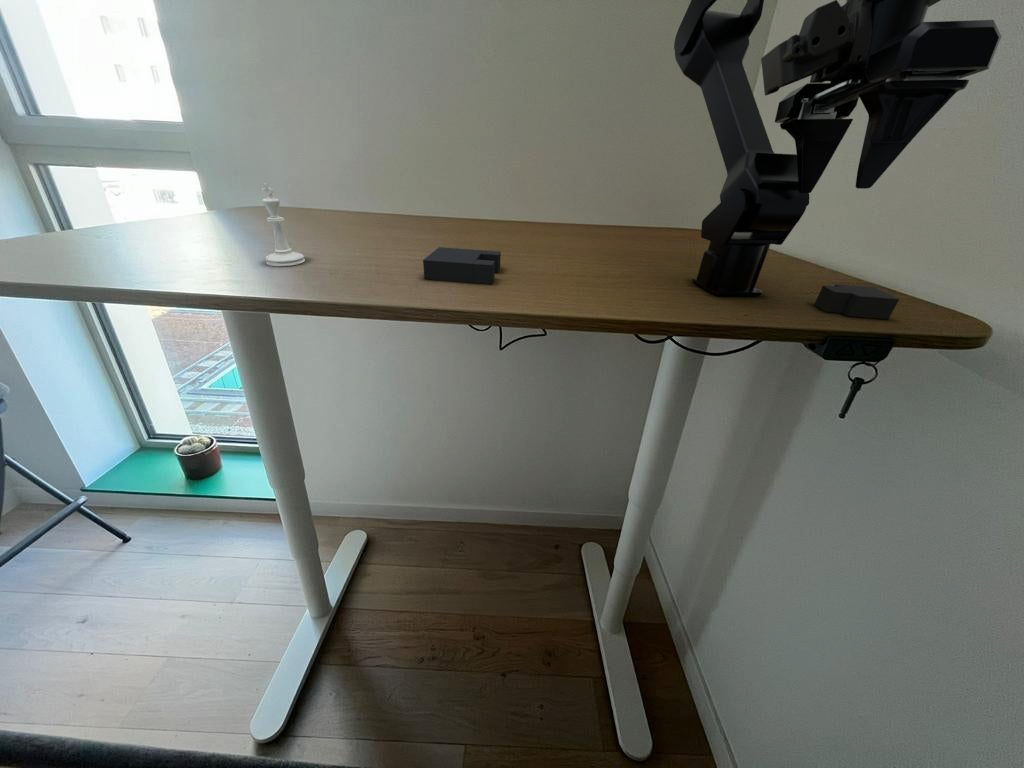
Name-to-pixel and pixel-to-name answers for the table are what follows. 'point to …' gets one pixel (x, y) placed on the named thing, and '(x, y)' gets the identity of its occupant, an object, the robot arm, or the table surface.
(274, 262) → the chess piece
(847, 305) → the dark grey block
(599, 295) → the table surface
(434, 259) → the charcoal pad
